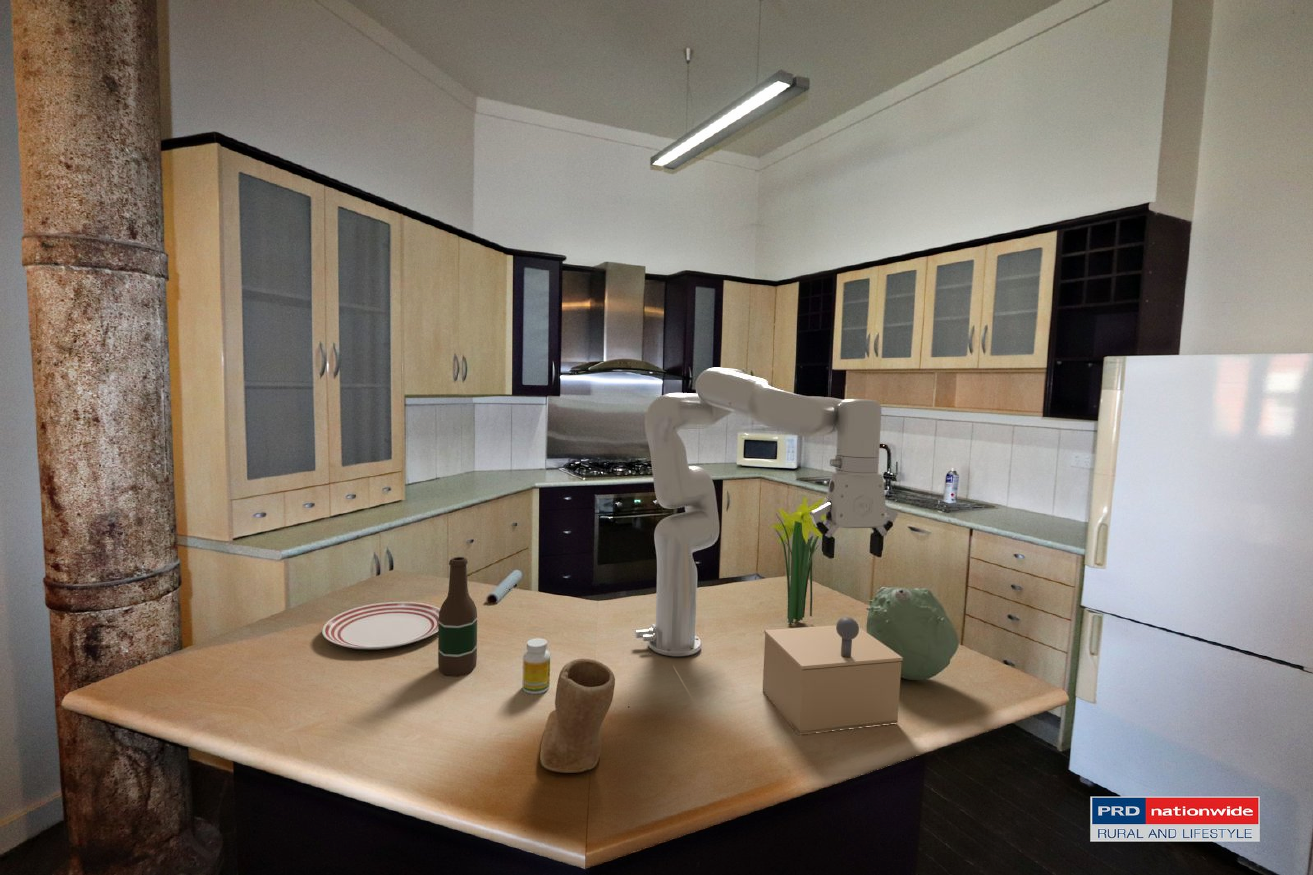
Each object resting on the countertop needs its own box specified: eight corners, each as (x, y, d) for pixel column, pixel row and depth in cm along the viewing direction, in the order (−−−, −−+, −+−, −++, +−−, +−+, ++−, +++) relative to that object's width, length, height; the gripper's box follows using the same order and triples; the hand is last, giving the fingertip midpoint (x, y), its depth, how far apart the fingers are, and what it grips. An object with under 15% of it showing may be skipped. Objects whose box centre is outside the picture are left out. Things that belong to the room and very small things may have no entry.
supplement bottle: (519, 684, 120) (520, 638, 120) (545, 679, 123) (546, 634, 122) (526, 697, 116) (526, 649, 115) (552, 692, 118) (553, 645, 117)
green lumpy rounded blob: (971, 693, 123) (978, 599, 121) (883, 695, 121) (890, 599, 119) (929, 659, 138) (935, 575, 137) (851, 660, 136) (856, 575, 135)
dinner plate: (467, 618, 154) (467, 606, 154) (405, 665, 127) (405, 650, 127) (372, 608, 159) (372, 596, 159) (293, 652, 132) (293, 637, 132)
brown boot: (611, 780, 92) (613, 687, 91) (534, 779, 92) (535, 685, 90) (614, 725, 107) (617, 644, 106) (548, 724, 107) (550, 643, 105)
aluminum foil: (511, 579, 187) (511, 569, 187) (532, 581, 186) (532, 570, 186) (485, 605, 164) (486, 593, 164) (509, 607, 164) (509, 594, 164)
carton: (799, 735, 106) (802, 670, 105) (762, 690, 121) (765, 633, 120) (897, 724, 110) (901, 661, 109) (850, 682, 126) (853, 627, 125)
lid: (801, 669, 105) (803, 626, 104) (764, 633, 120) (766, 595, 120) (902, 660, 109) (905, 619, 109) (854, 626, 125) (856, 590, 124)
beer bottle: (484, 666, 128) (485, 556, 126) (458, 681, 121) (459, 566, 119) (456, 658, 131) (457, 551, 129) (429, 672, 124) (430, 560, 122)
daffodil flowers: (764, 606, 170) (770, 485, 167) (816, 609, 169) (823, 487, 166) (770, 629, 153) (777, 495, 150) (829, 633, 152) (836, 498, 149)
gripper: (823, 468, 105) (818, 563, 106) (911, 468, 108) (905, 560, 109) (804, 462, 112) (800, 551, 113) (887, 463, 116) (882, 549, 117)
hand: (852, 556), depth 111 cm, fingers open, 9 cm apart
